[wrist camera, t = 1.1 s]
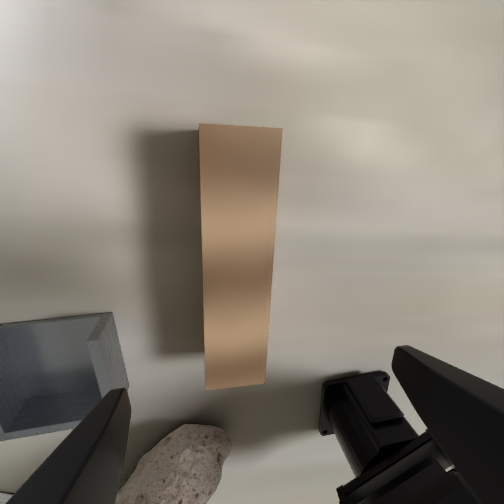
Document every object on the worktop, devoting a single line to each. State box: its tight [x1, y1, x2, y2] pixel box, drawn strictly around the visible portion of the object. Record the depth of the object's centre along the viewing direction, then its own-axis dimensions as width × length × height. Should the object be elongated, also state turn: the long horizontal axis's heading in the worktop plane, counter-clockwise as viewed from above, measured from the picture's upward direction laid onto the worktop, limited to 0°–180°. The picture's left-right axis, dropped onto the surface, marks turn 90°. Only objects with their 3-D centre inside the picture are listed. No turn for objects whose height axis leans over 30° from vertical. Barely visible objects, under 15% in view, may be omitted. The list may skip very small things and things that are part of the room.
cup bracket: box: [0, 312, 129, 441], centre depth 18 cm, size 7×7×3 cm
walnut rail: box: [199, 123, 283, 390], centre depth 17 cm, size 16×4×4 cm, turn 178°
